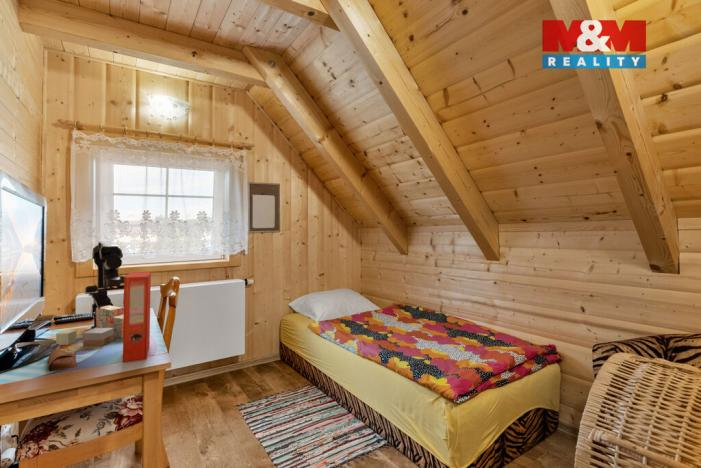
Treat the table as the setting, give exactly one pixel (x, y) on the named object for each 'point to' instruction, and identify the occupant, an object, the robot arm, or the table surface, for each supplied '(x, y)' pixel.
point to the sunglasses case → (61, 360)
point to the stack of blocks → (110, 319)
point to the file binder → (136, 316)
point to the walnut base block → (98, 341)
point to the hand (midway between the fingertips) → (112, 307)
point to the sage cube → (66, 337)
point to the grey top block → (98, 333)
